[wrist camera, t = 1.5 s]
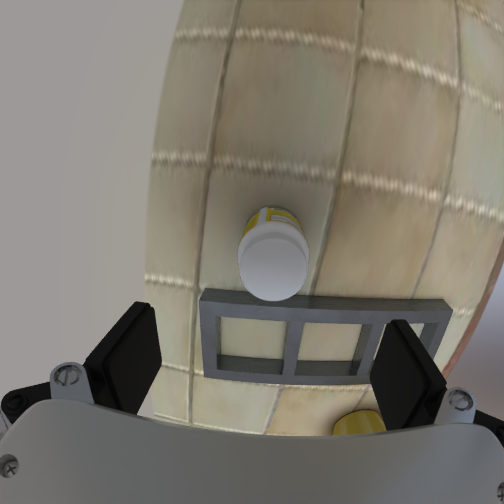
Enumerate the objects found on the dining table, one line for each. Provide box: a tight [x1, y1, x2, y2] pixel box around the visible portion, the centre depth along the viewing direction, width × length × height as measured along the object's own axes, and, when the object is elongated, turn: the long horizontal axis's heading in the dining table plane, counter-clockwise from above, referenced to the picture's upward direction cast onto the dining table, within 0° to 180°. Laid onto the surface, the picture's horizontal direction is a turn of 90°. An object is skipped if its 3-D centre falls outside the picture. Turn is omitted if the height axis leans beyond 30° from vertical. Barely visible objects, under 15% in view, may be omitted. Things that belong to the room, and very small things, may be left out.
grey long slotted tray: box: [199, 288, 453, 385], centre depth 26 cm, size 9×25×2 cm, turn 88°
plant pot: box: [333, 410, 386, 436], centre depth 28 cm, size 10×10×10 cm
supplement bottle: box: [237, 206, 309, 301], centre depth 20 cm, size 5×5×8 cm
